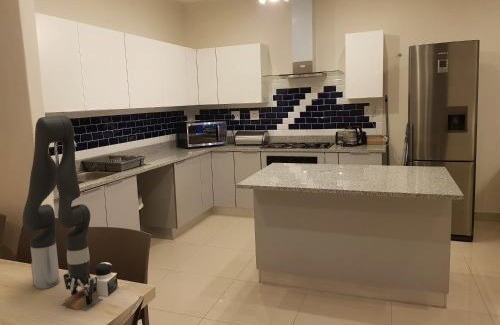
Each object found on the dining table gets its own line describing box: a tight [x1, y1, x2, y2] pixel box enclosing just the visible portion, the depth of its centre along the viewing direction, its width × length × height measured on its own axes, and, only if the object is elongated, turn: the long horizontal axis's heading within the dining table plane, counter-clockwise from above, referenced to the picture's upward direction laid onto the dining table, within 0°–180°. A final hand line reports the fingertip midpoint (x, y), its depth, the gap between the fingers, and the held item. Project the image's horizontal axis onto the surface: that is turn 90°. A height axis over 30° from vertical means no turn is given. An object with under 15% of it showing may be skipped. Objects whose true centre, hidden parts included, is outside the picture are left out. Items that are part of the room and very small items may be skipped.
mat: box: [60, 297, 104, 312], centre depth 149 cm, size 12×9×1 cm
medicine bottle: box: [93, 262, 119, 297], centre depth 156 cm, size 7×7×12 cm
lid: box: [64, 288, 99, 311], centre depth 148 cm, size 6×10×4 cm, turn 159°
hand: (82, 301), depth 148 cm, fingers closed on lid, 6 cm apart
